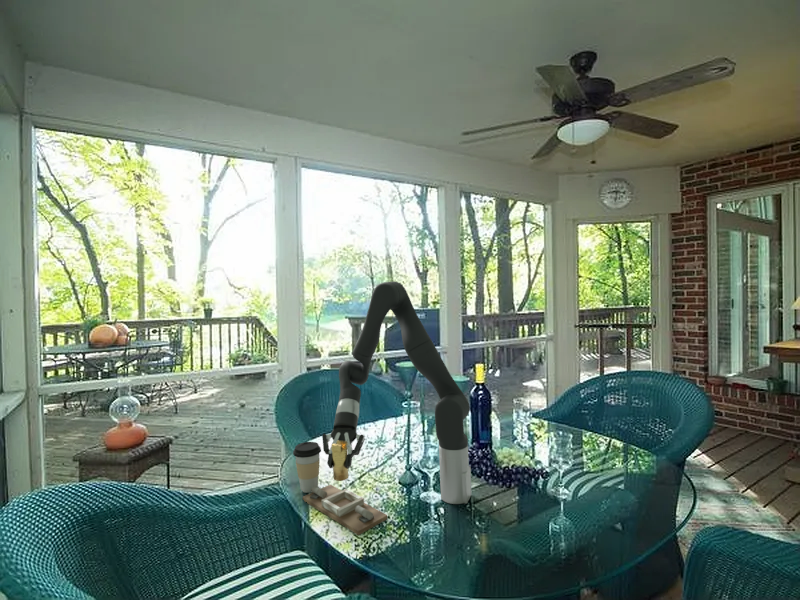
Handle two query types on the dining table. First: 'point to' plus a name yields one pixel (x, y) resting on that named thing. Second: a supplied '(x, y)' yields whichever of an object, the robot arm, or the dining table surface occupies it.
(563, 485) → the dining table surface
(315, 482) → the coffee cup
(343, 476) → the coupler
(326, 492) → the clamping jig board
